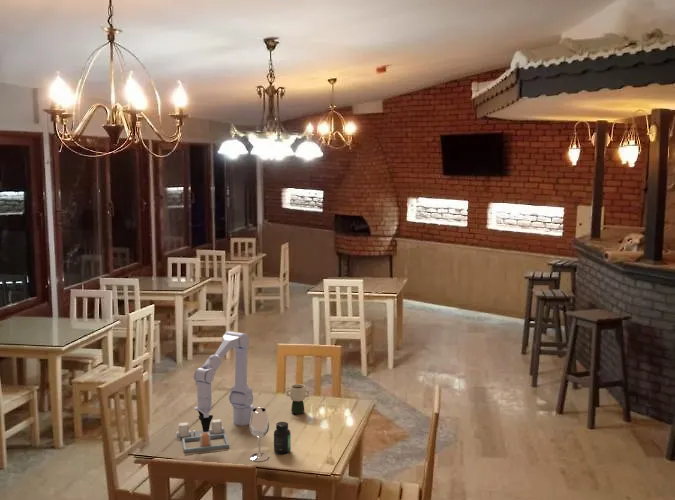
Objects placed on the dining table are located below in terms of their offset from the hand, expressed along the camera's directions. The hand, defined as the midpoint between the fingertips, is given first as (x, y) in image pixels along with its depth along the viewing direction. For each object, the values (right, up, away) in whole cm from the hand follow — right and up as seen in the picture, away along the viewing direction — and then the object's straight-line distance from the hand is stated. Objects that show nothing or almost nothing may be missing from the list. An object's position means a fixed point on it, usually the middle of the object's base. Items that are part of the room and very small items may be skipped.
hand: (205, 428), depth 280 cm
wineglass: (+24, -10, -9) cm, 27 cm away
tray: (0, -8, +1) cm, 8 cm away
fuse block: (-4, -7, +12) cm, 15 cm away
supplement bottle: (+32, -9, -3) cm, 34 cm away
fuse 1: (-11, -6, +10) cm, 16 cm away
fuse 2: (+2, -5, +14) cm, 15 cm away
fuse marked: (0, -8, +1) cm, 8 cm away
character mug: (+36, -4, +40) cm, 54 cm away
